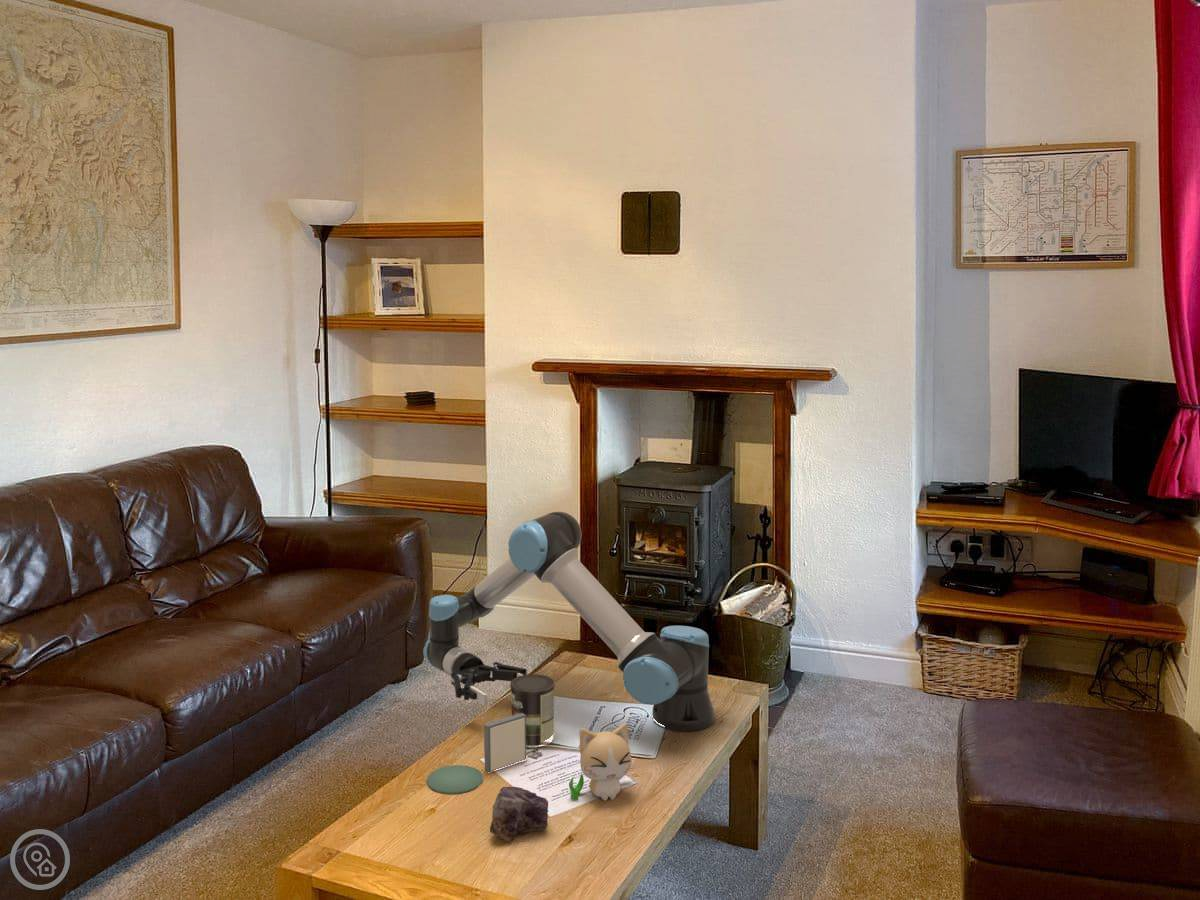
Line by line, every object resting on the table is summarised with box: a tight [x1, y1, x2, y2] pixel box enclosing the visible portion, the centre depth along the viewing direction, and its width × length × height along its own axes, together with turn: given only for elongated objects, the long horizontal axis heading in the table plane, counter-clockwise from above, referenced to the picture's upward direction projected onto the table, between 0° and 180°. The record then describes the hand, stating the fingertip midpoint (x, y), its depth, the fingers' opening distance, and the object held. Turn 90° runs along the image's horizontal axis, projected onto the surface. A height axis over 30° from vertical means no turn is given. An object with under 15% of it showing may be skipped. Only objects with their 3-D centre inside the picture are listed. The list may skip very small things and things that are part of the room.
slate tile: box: [483, 713, 527, 773], centre depth 249 cm, size 2×10×11 cm, turn 128°
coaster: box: [426, 764, 484, 795], centre depth 243 cm, size 12×12×1 cm
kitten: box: [568, 722, 633, 802], centre depth 236 cm, size 15×10×15 cm, turn 106°
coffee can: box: [509, 673, 555, 747], centre depth 262 cm, size 10×10×14 cm
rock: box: [489, 786, 549, 842], centre depth 222 cm, size 12×9×10 cm
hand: (509, 693), depth 269 cm, fingers open, 13 cm apart
